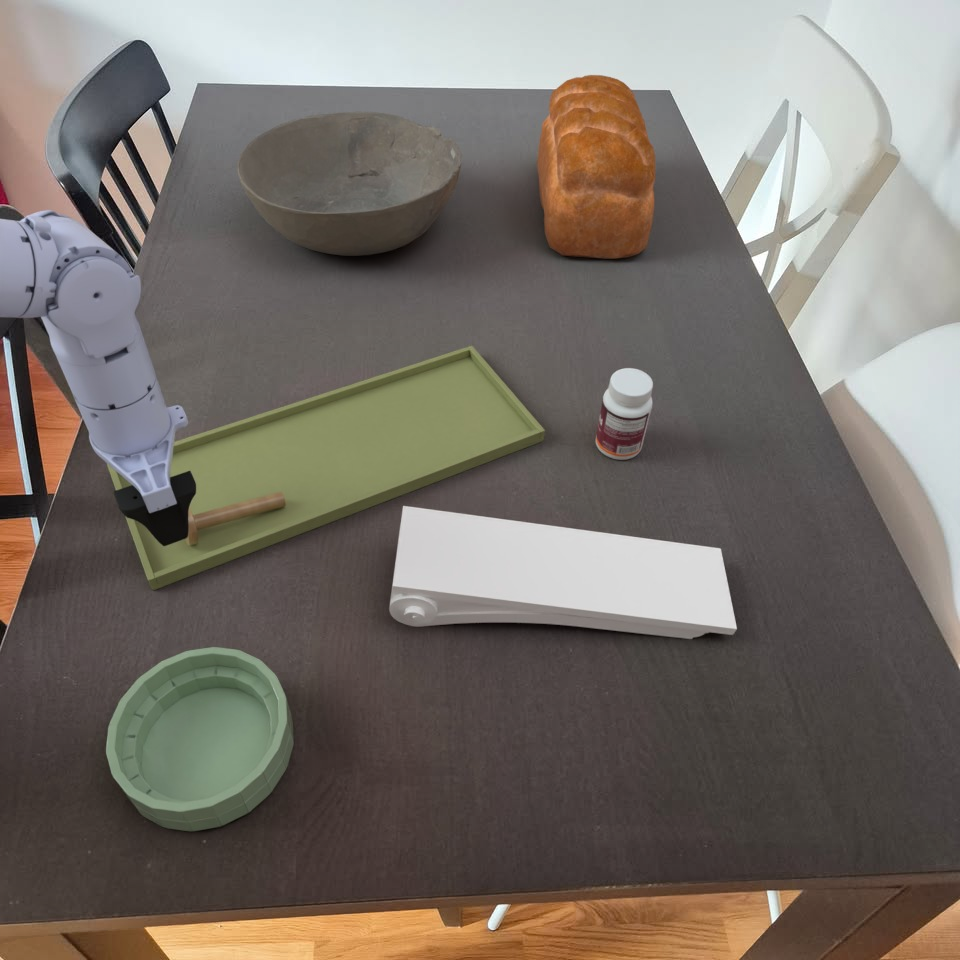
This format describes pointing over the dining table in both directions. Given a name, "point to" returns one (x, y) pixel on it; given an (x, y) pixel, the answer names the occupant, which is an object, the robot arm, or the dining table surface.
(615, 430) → the pill bottle
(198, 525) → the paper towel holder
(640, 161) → the bread
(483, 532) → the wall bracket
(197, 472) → the serving tray
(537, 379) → the dining table surface
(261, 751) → the shallow round dish
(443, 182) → the bowl
